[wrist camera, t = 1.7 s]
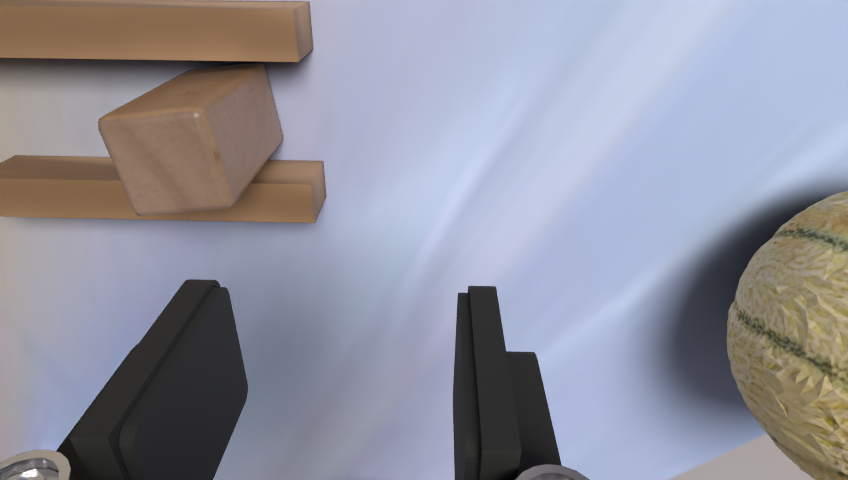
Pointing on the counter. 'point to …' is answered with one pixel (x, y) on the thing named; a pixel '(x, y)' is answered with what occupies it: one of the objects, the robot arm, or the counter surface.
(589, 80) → the counter surface
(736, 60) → the counter surface
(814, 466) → the cantaloupe
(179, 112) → the wooden block
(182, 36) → the pair of wooden bars
